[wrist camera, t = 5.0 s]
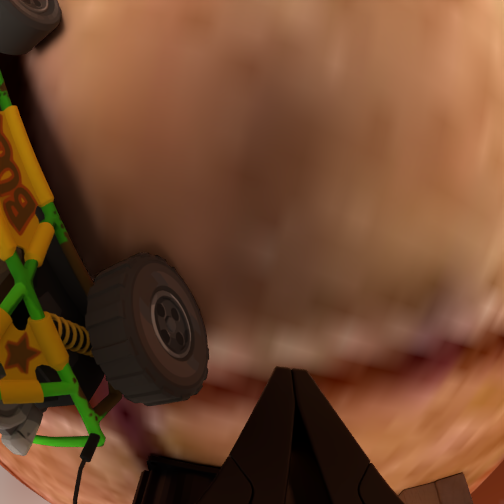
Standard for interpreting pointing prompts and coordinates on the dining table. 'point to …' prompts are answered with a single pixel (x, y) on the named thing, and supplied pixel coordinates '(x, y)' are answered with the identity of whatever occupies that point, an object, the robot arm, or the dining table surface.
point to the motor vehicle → (77, 296)
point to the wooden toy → (439, 492)
